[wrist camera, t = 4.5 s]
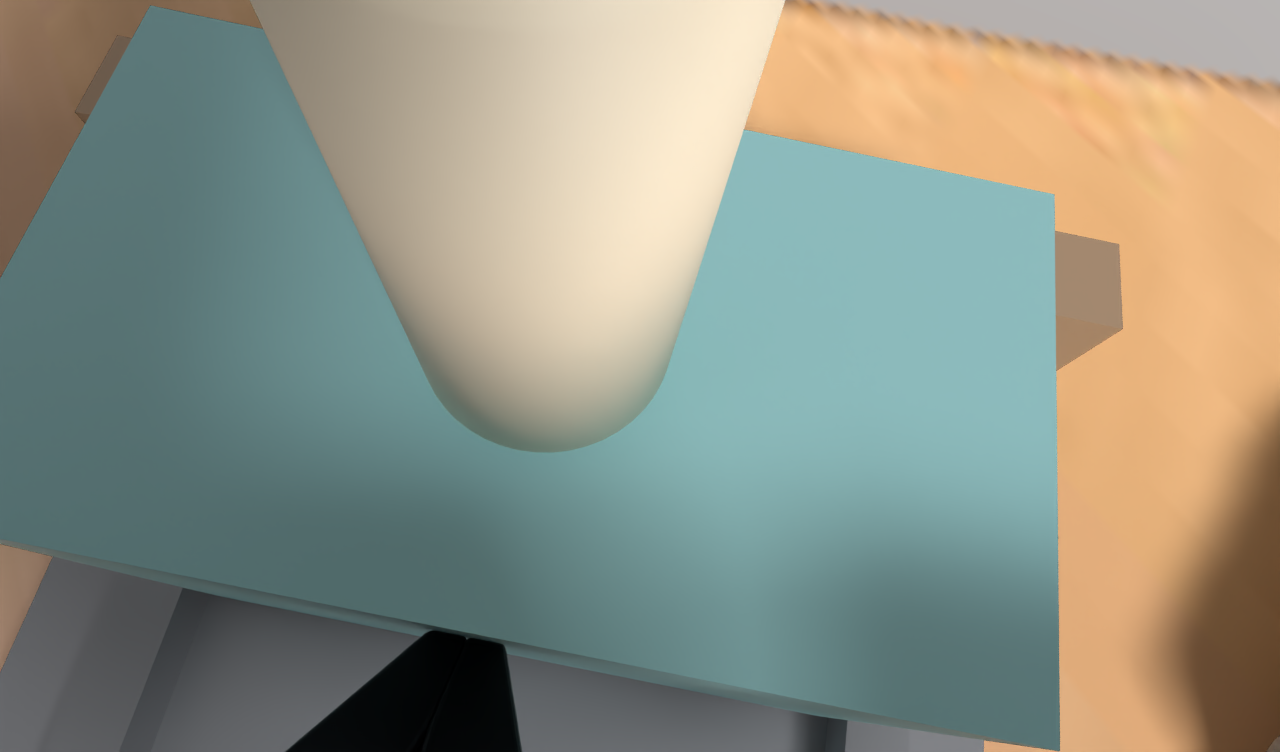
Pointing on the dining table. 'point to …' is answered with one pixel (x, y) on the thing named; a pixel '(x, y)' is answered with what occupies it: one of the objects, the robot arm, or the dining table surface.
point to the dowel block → (546, 358)
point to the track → (387, 642)
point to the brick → (1275, 745)
